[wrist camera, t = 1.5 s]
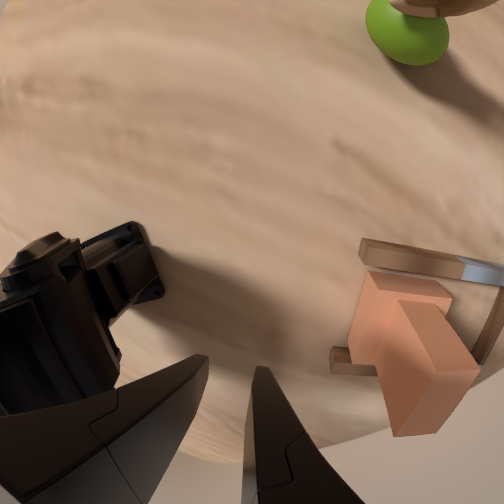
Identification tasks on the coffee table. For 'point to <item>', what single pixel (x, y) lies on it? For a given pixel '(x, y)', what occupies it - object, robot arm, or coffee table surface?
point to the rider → (411, 350)
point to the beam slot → (437, 266)
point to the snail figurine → (415, 27)
